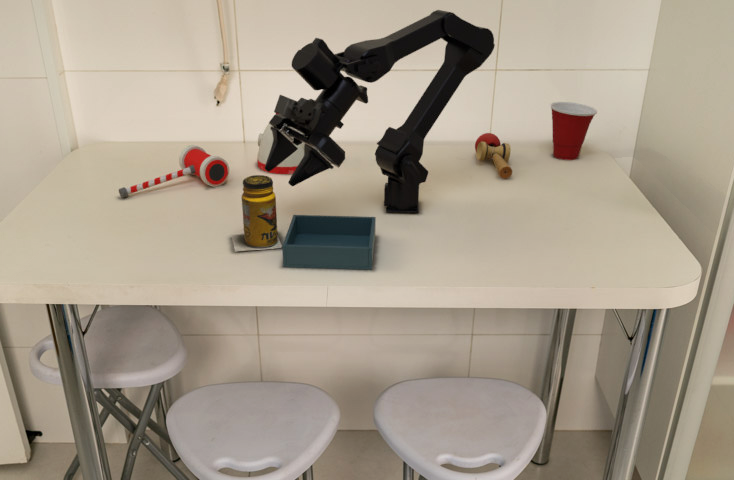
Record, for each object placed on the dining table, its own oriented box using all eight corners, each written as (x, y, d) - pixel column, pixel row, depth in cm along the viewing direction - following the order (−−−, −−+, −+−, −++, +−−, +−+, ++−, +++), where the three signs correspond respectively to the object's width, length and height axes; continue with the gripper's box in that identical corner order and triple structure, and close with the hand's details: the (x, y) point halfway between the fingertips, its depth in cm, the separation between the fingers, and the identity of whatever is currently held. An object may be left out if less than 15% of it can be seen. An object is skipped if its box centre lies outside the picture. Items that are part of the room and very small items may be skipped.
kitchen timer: (247, 169, 179) (242, 102, 171) (274, 152, 190) (271, 89, 182) (301, 177, 174) (299, 109, 167) (327, 159, 185) (326, 95, 178)
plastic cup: (594, 163, 183) (603, 112, 177) (548, 163, 183) (555, 111, 177) (583, 150, 192) (591, 100, 186) (539, 149, 192) (545, 100, 186)
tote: (375, 237, 145) (375, 216, 143) (371, 269, 133) (372, 248, 131) (294, 234, 146) (293, 214, 144) (283, 267, 134) (282, 245, 132)
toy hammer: (133, 206, 158) (128, 176, 155) (110, 190, 166) (105, 161, 163) (231, 183, 170) (229, 155, 167) (205, 169, 178) (202, 142, 175)
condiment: (282, 248, 141) (279, 184, 135) (235, 252, 139) (230, 187, 133) (276, 232, 147) (273, 171, 141) (231, 236, 145) (226, 174, 139)
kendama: (524, 183, 175) (501, 148, 189) (523, 157, 171) (500, 124, 185) (490, 190, 175) (469, 155, 189) (489, 165, 171) (468, 131, 185)
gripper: (276, 67, 140) (224, 137, 141) (329, 88, 127) (271, 165, 127) (315, 106, 148) (265, 172, 148) (369, 129, 134) (314, 202, 135)
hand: (278, 177), depth 139 cm, fingers open, 9 cm apart
